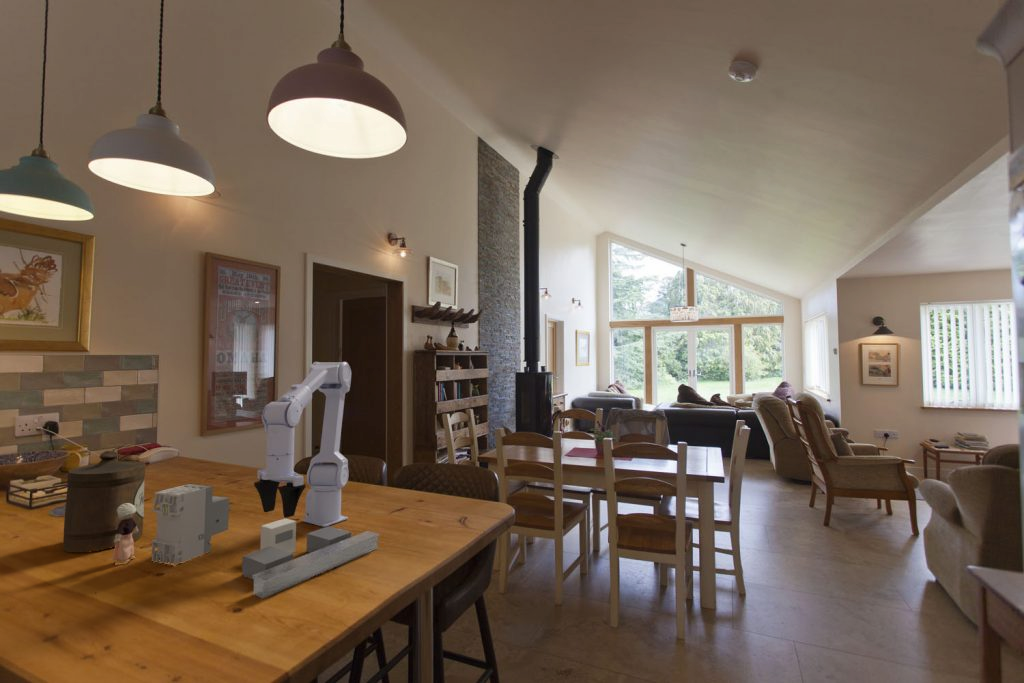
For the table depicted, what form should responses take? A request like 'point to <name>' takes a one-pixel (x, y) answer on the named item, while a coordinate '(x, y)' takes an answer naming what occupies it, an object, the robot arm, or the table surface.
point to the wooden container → (101, 502)
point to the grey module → (279, 535)
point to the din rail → (313, 564)
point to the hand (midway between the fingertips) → (278, 513)
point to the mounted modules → (275, 556)
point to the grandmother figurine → (125, 534)
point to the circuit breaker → (187, 522)
